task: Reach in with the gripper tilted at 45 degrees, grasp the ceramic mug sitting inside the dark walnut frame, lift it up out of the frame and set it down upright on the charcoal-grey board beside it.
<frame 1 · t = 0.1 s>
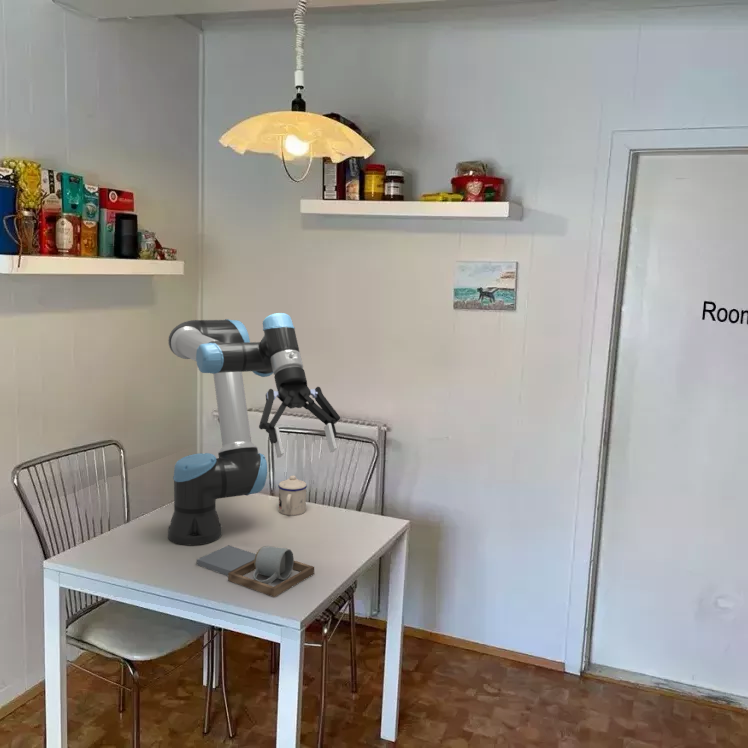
hand: (307, 453, 171), 36 cm above the table, tool tilted 35°, fingers open, 13 cm apart
grey board: (229, 562, 193), on the table
ceramic mug: (271, 578, 186), on the table
teacup with lid: (291, 513, 232), on the table
walnut frame: (271, 577, 186), on the table
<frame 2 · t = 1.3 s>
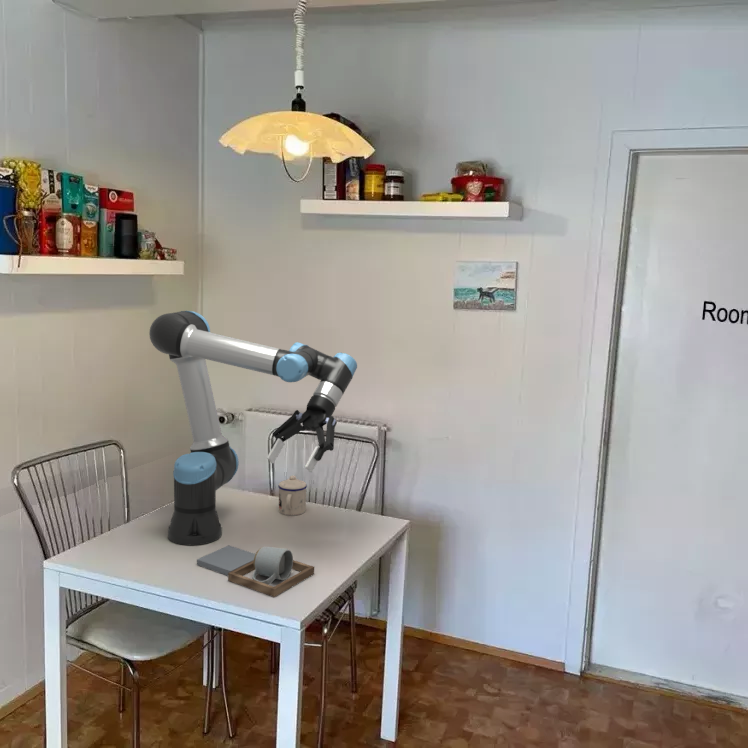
hand: (288, 465, 195), 26 cm above the table, tool tilted 45°, fingers open, 13 cm apart
nothing on the table moved.
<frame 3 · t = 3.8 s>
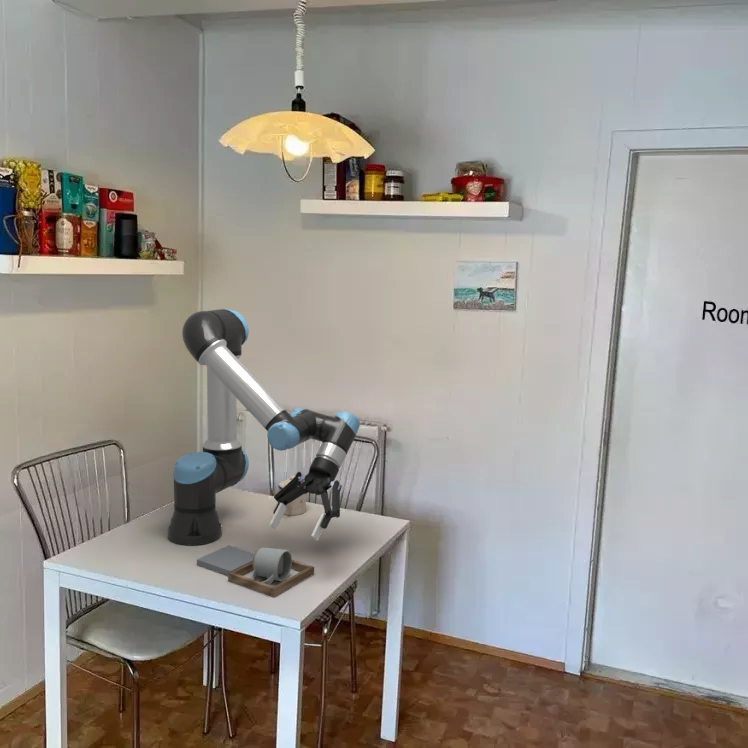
hand: (293, 532, 188), 10 cm above the table, tool tilted 45°, fingers open, 13 cm apart
nothing on the table moved.
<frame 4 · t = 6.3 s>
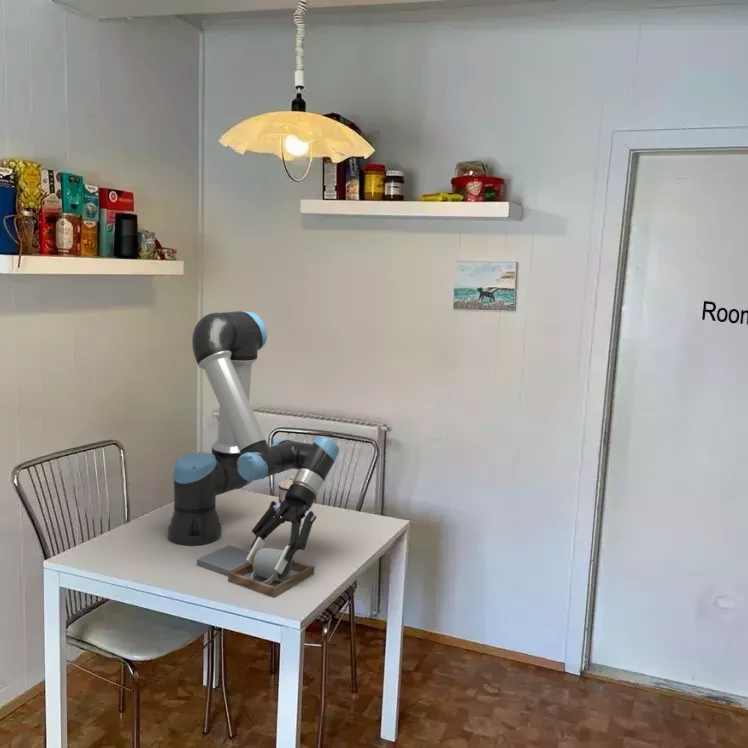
hand: (263, 566, 182), 4 cm above the table, tool tilted 45°, fingers closed on ceramic mug, 8 cm apart
ceramic mug: (269, 580, 184), on the table, touching gripper
everything else where it was.
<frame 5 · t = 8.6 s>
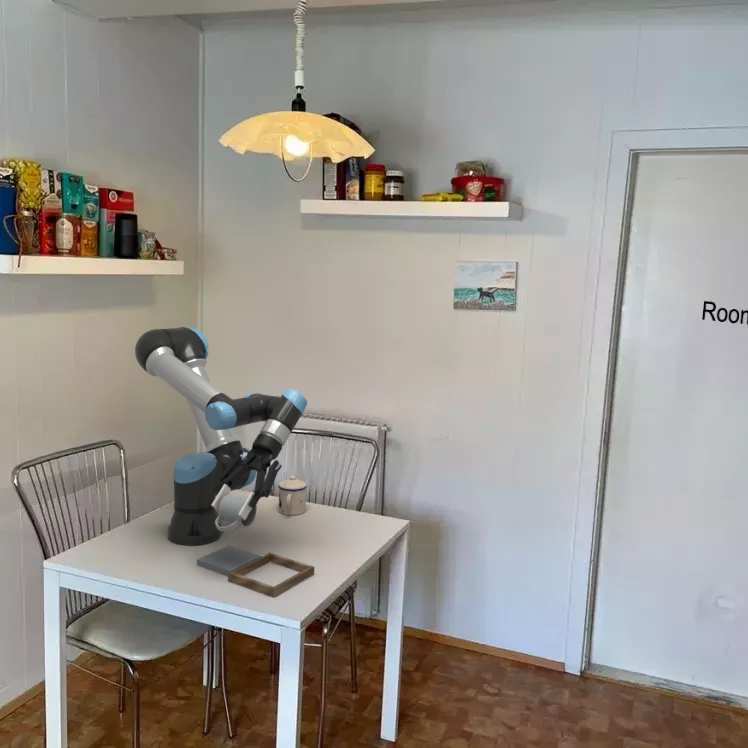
hand: (228, 512, 187), 16 cm above the table, tool tilted 45°, fingers closed on ceramic mug, 8 cm apart
ceramic mug: (233, 526, 189), point 11 cm above the table, touching gripper
everything else where it was.
when the fingers open (7 cm above the table, at t = 10.9 s): ceramic mug drops 1 cm, resting on grey board.
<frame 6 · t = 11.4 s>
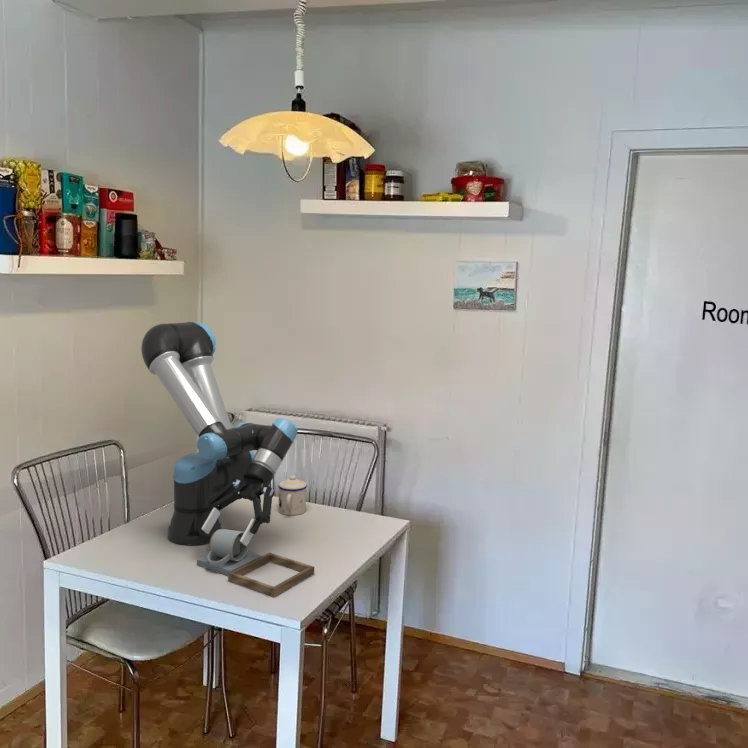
hand: (223, 537, 190), 8 cm above the table, tool tilted 45°, fingers open, 13 cm apart
ceramic mug: (226, 560, 192), point 1 cm above the table, touching grey board
everything else where it was.
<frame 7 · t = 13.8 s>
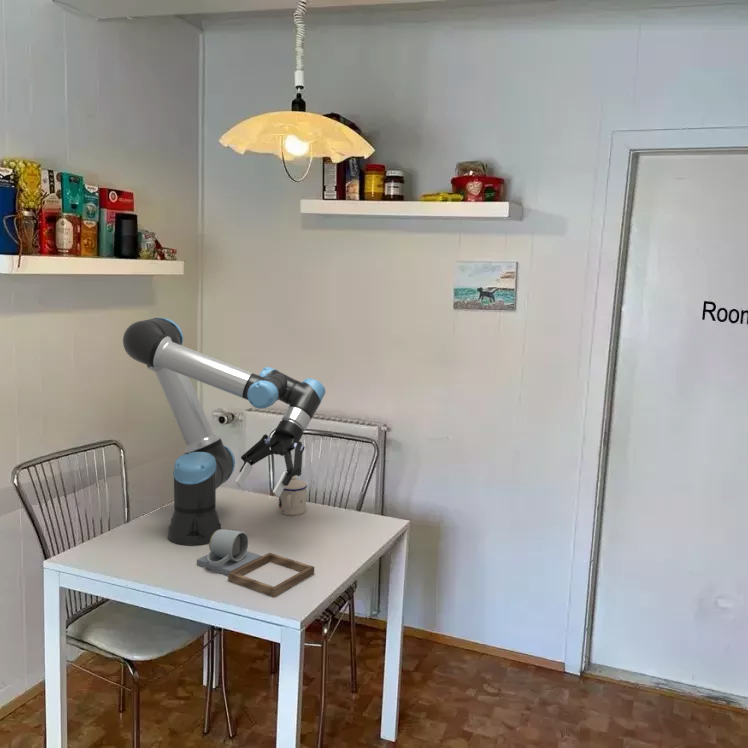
hand: (256, 489, 199), 18 cm above the table, tool tilted 45°, fingers open, 13 cm apart
nothing on the table moved.
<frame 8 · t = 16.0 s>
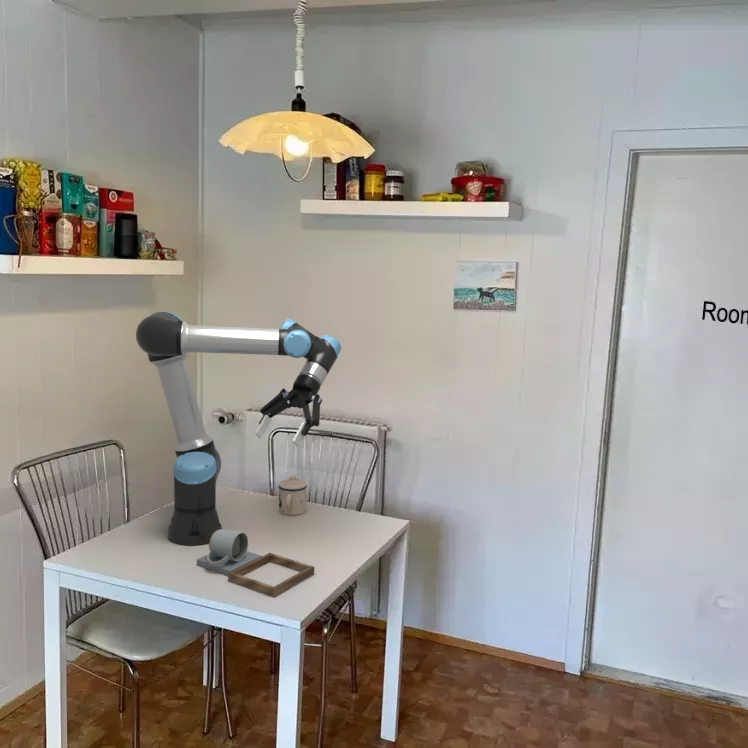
hand: (276, 439, 205), 30 cm above the table, tool tilted 45°, fingers open, 13 cm apart
nothing on the table moved.
at the end: ceramic mug inside the target area on the grey board (1.6 cm from its centre), point 1.3 cm above the grey board's base; ceramic mug tilted 1°; the gripper is holding nothing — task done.
